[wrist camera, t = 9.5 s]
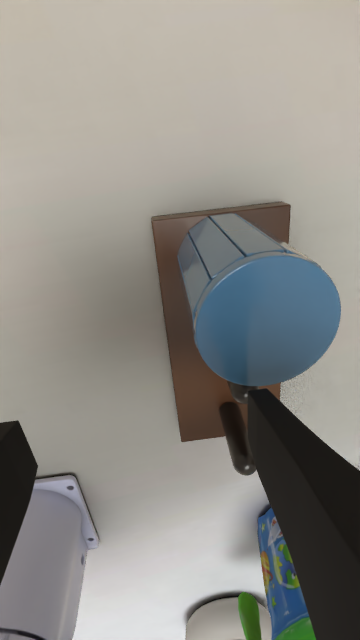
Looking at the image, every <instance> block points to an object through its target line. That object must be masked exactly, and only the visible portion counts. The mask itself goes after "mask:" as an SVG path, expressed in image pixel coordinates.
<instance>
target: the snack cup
mask: <svg viewBox="0 0 360 640" xmlns="http://www.w3.org/2000/svg"><path fill="white" fill-rule="evenodd" d="M257 534H258V542H259V549H260V557H261V564H262V572H263V579H264V586H265V593H266V598H267V605H268V610H269V613H270V616H271V626H272V638H271V640H316V638H315V634H314V631H313V628H312V624H311V621H310V618H309V614H308V611H307V607H306V604H305V601H304V597H303V594H302V591H301V588H300V584H299V581H298V578H297V575H296V572H295V568H294V565H293V562H292V559H291V556H290V553H289V550H288V548H287V545H286V542H285V540H284V537H283V535H282V532H281V530H280V527H279V525H278V522H277V520H276V517H275V515H274V512H273V510H272V507H271V508H270V509H269V510H268V511H267V512H266V514H265V515H263V516H261V517H259V518H258V533H257ZM238 611H239V616H240V620H241V624H242V627H243V631H244V635H245V637H246V640H262V638H261V627H260V615H259V607H258V604H257V601H256V599H255V598H254V597H253V596H252V595H250V594H248V593H246V592H242V593H241V594H240V595H239V597H238Z"/></svg>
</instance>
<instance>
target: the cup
mask: <svg viewBox="0 0 360 640" xmlns="http://www.w3.org/2000/svg"><path fill="white" fill-rule="evenodd" d="M188 232H189V233H186V235H185V237H184V240H183V242H182V244H181V246H180V248H179V251H178V255H177V261H178V271H179V278H180V282H181V287H182V291H183V295H184V299H185V304H186V308H187V312H188V316H189V320H190V325H191V329H192V333H193V337H194V342H195V344H196V347H197V348H198V350H199V353H200V355H201V357H202V359H203V360H204V362H205V363H206V364H207V366H208V367H209V368H210V369H211V370H212V371H214V372H215V373H216V374H217V375H219V376H220V377H222V378H224V379H226V380H228V381H230V382H233V383H236V384H240V385H246V386H267V385H273V384H277V383H281V382H284V381H287V380H289V379H292V378H294V377H296V376H297V375H299V374H301V373H303V372H304V371H306V370H307V369H309V368H310V367H311V366H312V365H314V364H315V363H316V362H317V361H318V360H319V359H320V358H321V357H322V356H323V354H324V353H325V352H326V351H327V349H328V348H329V346H330V345H331V343H332V341H333V339H334V337H335V335H336V333H337V330H338V327H339V322H340V316H341V305H340V298H339V294H338V291H337V289H336V286H335V284H334V283H333V281H332V280H331V278H330V277H329V276H328V275H327V273H326V272H325V271H324V270H322V269H321V267H320V266H319V265H318V264H317V263H316V262H314V261H313V260H311V259H310V258H308V257H307V256H305V255H304V254H302V253H301V252H299V251H297V250H296V249H294V248H293V247H291V246H290V245H288V244H287V243H285V242H284V241H282V240H281V239H279V238H278V237H276V236H275V235H273V234H272V233H270V232H269V231H267V230H265V229H264V228H262V227H261V226H259V225H258V224H256V223H255V222H253V221H251V220H249V219H247V218H245V217H242V216H240V215H238V214H236V213H235V214H234V213H226V214H217V215H210V216H209V217H206V218H204V219H203V220H202V221H200V222H199V223H198V224H196V225H195V226H194V227H192V228H191V229H190V230H189V231H188Z"/></svg>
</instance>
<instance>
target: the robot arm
mask: <svg viewBox="0 0 360 640" xmlns="http://www.w3.org/2000/svg"><path fill="white" fill-rule="evenodd" d="M248 441H249V445H250V449H251V452H252V456H253V459H254V463H255V466H256V469H257V472H258V475H259V477H260V480H261V482H262V485H263V487H264V490H265V492H266V495H267V497H268V500H269V502H270V505H271V507H272V510H273V512H274V515H275V517H276V520H277V522H278V525H279V527H280V530H281V532H282V535H283V537H284V540H285V542H286V545H287V548H288V550H289V553H290V556H291V559H292V562H293V565H294V568H295V572H296V575H297V578H298V581H299V584H300V588H301V591H302V594H303V597H304V601H305V604H306V607H307V611H308V614H309V618H310V621H311V624H312V628H313V631H314V634H315V638H316V640H360V471H359V470H358V469H356V468H355V467H354V466H353V465H351V464H350V463H349V462H347V461H346V460H345V459H344V458H343V457H341V456H340V455H339V454H338V453H336V452H335V451H334V450H333V449H331V448H330V447H329V446H328V445H327V444H326V443H324V442H323V441H322V440H321V439H320V438H319V437H318V436H316V435H315V434H314V433H313V432H312V431H311V430H310V429H309V428H308V427H306V426H305V425H304V424H303V423H302V422H301V421H300V420H299V419H298V418H297V417H296V416H295V415H294V414H293V413H292V412H291V411H290V410H288V409H287V408H286V407H285V406H284V405H283V404H282V403H281V402H280V401H279V400H278V399H277V398H276V397H275V396H274V395H273V394H272V392H271V391H269V390H268V389H267V388H265V389H257V390H249V391H248ZM37 468H38V465H37V463H36V460H35V458H34V456H33V453H32V451H31V449H30V446H29V444H28V442H27V439H26V437H25V435H24V432H23V430H22V428H21V425H20V423H19V421H11V422H3V423H0V640H72V638H73V635H74V631H75V627H76V621H77V615H78V608H79V602H80V595H81V589H82V583H83V576H84V570H85V564H86V557H87V551H88V550H89V549H95V548H97V547H98V546H99V539H98V536H97V533H96V531H95V528H94V525H93V523H92V520H91V517H90V515H89V512H88V509H87V507H86V504H85V501H84V499H83V496H82V493H81V491H80V488H79V485H78V483H77V480H76V478H75V477H74V476H72V475H66V476H59V477H52V478H44V479H37V480H35V477H36V472H37Z"/></svg>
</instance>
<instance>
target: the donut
mask: <svg viewBox="0 0 360 640" xmlns="http://www.w3.org/2000/svg"><path fill="white" fill-rule="evenodd" d="M257 604H258V607H259V615H260V627H261V638H262V640H271V638H272V626H271V617H270V615H269V612H268V611H267V610H266V608H265V607H263V606H262V605H261V604H259V603H258V602H257ZM185 640H246V637H245V635H244V631H243V627H242V624H241V620H240V616H239V611H238V597H230V598H222V599H218V600H214V601H212V602H209V603H207V604H205V605H203V606H202V607H200V608H199V609H197V610H196V611H195V612H194V613H193V615H192V616H191V617H190V619H189V620H188V622H187V625H186V639H185Z"/></svg>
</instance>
